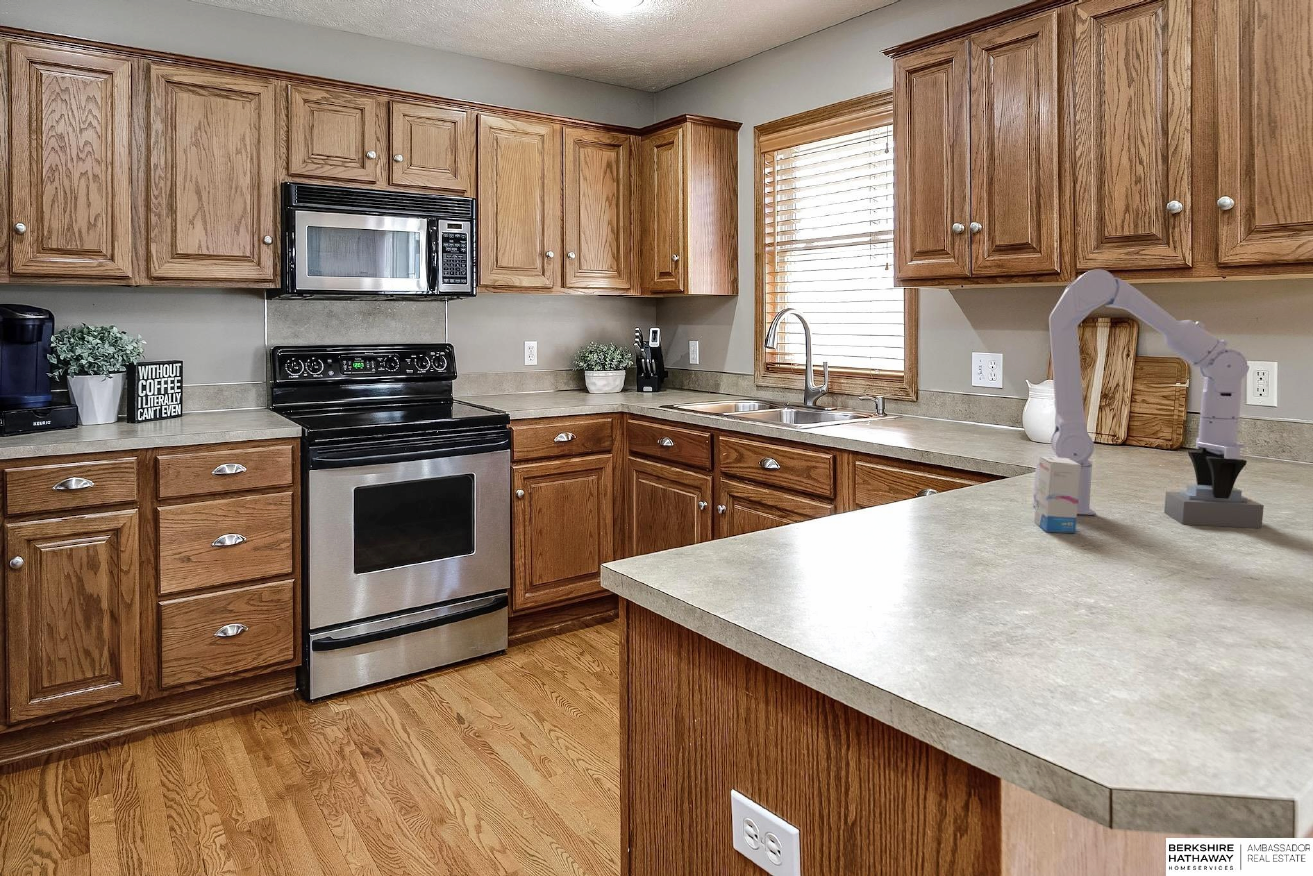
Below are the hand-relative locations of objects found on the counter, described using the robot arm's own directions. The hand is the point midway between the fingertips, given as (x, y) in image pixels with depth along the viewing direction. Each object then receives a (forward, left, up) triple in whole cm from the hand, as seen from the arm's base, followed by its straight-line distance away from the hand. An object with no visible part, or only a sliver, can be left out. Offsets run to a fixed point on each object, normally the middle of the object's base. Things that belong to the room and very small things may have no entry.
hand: (1213, 494), depth 150 cm
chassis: (0, 0, -5) cm, 5 cm away
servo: (0, 0, -5) cm, 5 cm away
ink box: (-28, -14, -5) cm, 32 cm away
